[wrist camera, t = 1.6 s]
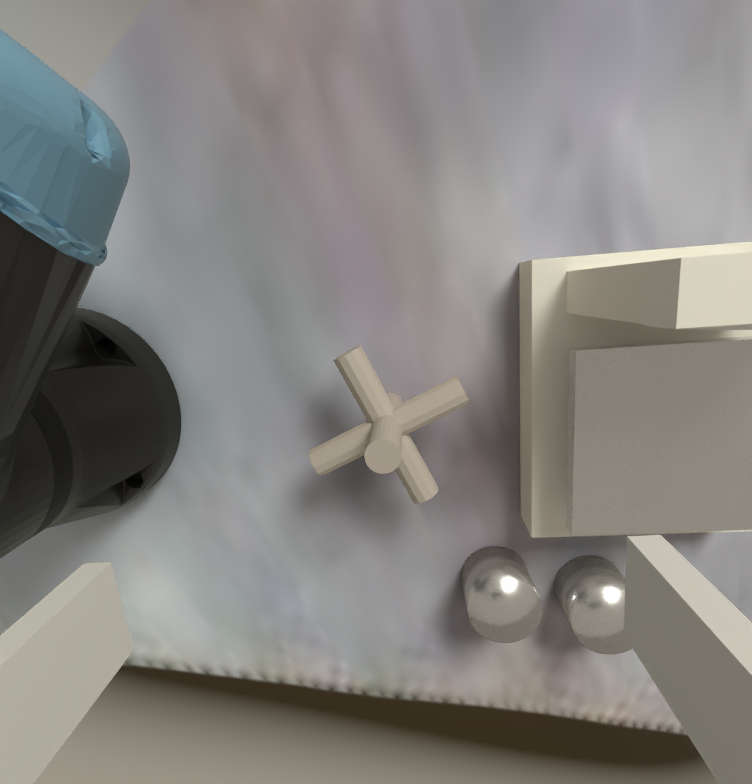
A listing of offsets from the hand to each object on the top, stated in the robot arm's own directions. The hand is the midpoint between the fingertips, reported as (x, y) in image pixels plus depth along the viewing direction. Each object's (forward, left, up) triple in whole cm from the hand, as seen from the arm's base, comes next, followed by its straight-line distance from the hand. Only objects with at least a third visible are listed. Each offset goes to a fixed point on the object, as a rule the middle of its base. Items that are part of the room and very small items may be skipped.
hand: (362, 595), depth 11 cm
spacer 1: (+7, -14, -21) cm, 26 cm away
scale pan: (+16, -2, -16) cm, 22 cm away
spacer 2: (+14, -15, -21) cm, 29 cm away
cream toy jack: (0, 0, -21) cm, 21 cm away
